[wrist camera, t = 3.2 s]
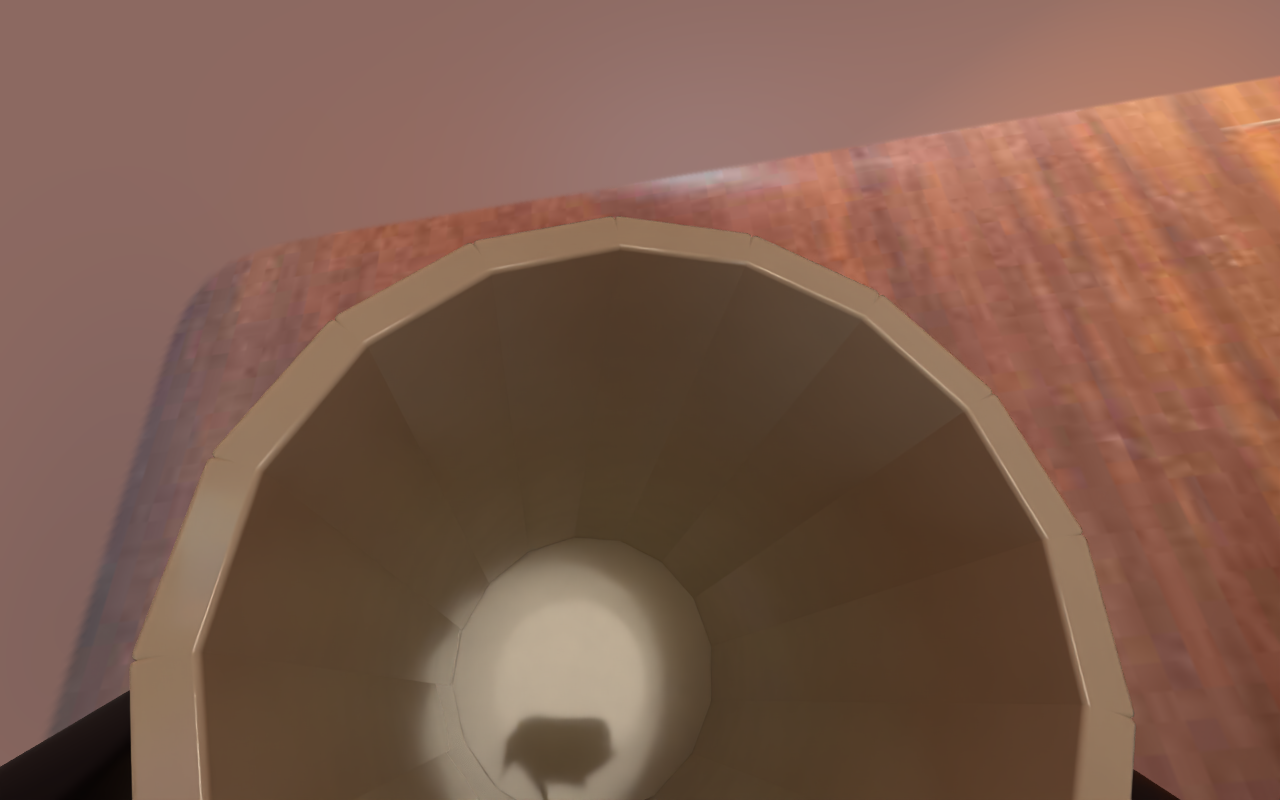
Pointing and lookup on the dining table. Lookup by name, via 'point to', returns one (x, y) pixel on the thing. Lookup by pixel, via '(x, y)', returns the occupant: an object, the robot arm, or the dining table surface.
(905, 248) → the dining table surface
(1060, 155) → the dining table surface
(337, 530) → the tumbler
